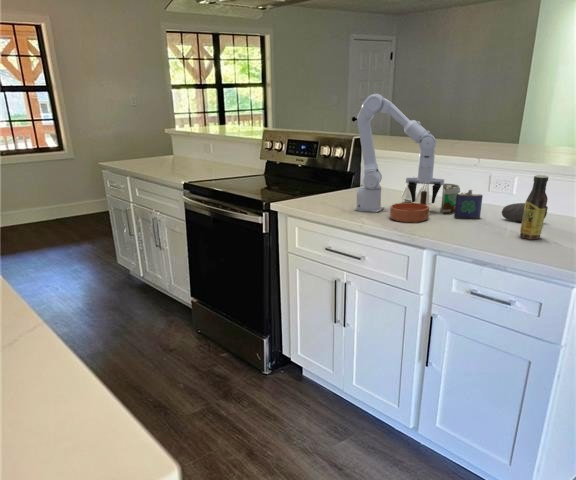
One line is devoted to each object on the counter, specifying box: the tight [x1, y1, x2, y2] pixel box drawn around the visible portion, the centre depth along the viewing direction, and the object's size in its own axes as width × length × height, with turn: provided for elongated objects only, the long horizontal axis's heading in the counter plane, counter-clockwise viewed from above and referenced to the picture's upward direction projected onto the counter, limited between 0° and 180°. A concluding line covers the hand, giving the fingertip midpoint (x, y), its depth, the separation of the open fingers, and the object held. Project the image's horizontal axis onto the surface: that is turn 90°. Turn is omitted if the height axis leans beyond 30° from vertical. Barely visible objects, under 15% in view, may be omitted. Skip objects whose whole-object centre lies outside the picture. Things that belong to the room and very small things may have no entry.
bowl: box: [389, 202, 430, 223], centre depth 192 cm, size 14×14×4 cm
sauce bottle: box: [519, 174, 549, 240], centre depth 160 cm, size 7×6×20 cm
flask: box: [454, 189, 483, 220], centre depth 188 cm, size 9×3×11 cm, turn 74°
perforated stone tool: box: [501, 202, 549, 223], centre depth 182 cm, size 15×5×7 cm, turn 51°
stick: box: [420, 190, 427, 205], centre depth 201 cm, size 2×2×8 cm
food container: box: [440, 182, 461, 215], centre depth 199 cm, size 12×6×10 cm, turn 168°
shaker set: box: [400, 176, 430, 205], centre depth 215 cm, size 12×4×11 cm, turn 48°
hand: (423, 202), depth 201 cm, fingers open, 7 cm apart
